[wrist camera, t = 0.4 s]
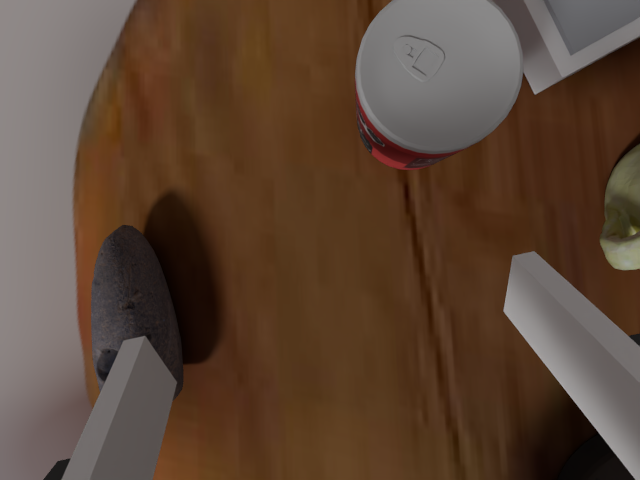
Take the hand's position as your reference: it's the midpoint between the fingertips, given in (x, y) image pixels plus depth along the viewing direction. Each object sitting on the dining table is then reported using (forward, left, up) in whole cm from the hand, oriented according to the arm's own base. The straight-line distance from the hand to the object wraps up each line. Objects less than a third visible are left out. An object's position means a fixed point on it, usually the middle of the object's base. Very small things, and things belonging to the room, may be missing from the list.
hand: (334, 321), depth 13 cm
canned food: (+7, -9, -17) cm, 20 cm away
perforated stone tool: (+4, +17, -17) cm, 25 cm away
